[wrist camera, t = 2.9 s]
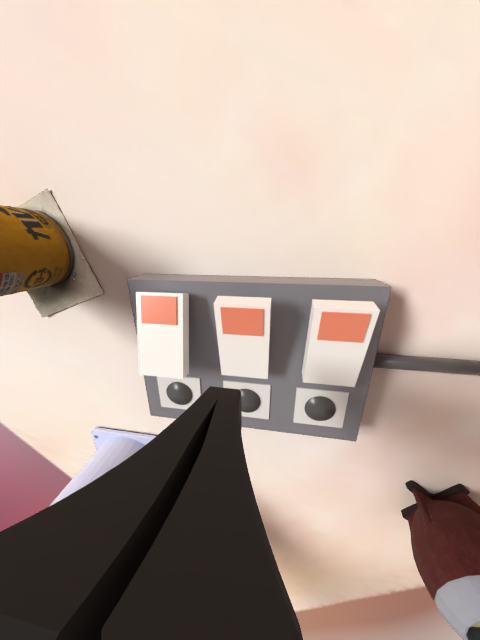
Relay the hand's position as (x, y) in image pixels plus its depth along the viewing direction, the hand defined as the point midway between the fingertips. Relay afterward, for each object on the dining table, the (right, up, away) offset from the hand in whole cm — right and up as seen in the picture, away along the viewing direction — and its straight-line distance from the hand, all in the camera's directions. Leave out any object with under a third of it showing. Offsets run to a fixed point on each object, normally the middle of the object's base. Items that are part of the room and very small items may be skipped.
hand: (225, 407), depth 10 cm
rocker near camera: (+6, +2, +4) cm, 8 cm away
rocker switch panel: (+6, +1, +9) cm, 11 cm away
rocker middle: (+1, +2, +5) cm, 6 cm away
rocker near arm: (-5, +3, +6) cm, 8 cm away
